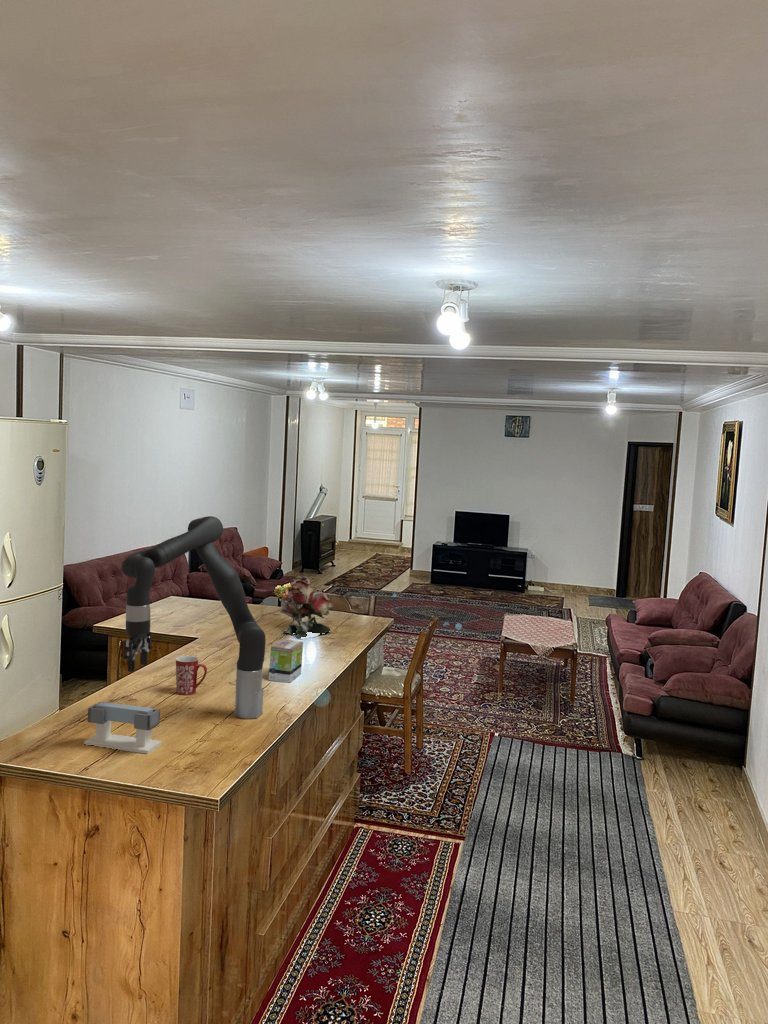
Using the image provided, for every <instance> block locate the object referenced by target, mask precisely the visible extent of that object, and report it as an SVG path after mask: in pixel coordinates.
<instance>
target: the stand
mask: <svg viewBox="0 0 768 1024" xmlns="http://www.w3.org/2000/svg"><path fill="white" fill-rule="evenodd" d="M100 702H101V701H99V702H97V703H95V704H93V705H91V706H89V707H88V708H87V723H90V724H91V723H92V724H95V735H92V736H91V737H89V738H88V739H86V740H84V741H83V745H84V744H87V745H86V746H88V745H95V746H101V747H100V748H102V747H106V748H105V749H109V748H112V749H111V750H116V749H118V751H123V750H124V752H131V753H139V754H146V755H149V754H150V753H151V752H153V751H154V750H155V749H157V748H158V747H160V746H161V745H162V740H156V739H152V729H154V728H155V727H157V726H158V725H160V717H161V709H158V708H157V709H156V708H153V713H151V714H149V715H145V714H137V713H135V714H134V724H133V729H135V730H136V731H135V737H134V736H128V735H120V734H114V733H112V721H108V720H104V710H105V709H99V708H95V705H96V704H98V703H100ZM95 746H94V747H95Z"/></svg>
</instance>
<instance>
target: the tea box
mask: <svg viewBox="0 0 768 1024" xmlns="http://www.w3.org/2000/svg"><path fill="white" fill-rule="evenodd" d="M303 649H304V641H302V640H301V641H300V640H299V641H298V640H292V639H290V640H289V639H280V640H279V641H277V642H275V643H274V644H272V645H271V646H270V655H269V656H270V657H269V667H268V681H272V682H279V683H286V682H287V683H292V681H293V680H296V678H298V677H299V676H301V675H302V666H303Z"/></svg>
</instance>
